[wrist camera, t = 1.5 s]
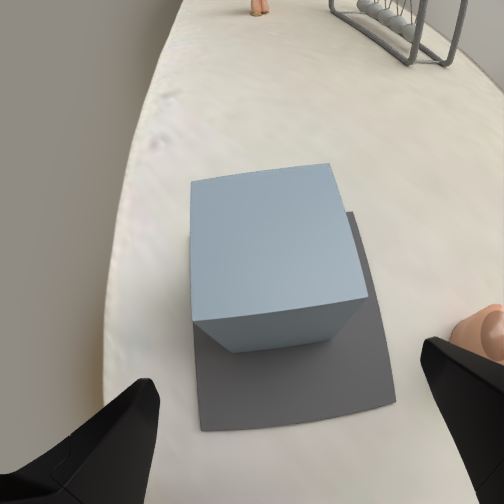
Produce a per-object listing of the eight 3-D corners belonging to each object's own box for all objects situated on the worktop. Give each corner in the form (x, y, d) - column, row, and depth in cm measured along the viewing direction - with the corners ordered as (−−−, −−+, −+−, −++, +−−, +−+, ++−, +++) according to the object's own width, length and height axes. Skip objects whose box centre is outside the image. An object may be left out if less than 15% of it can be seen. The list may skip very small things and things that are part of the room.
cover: (331, 339, 20) (368, 296, 12) (231, 353, 21) (191, 321, 12) (314, 250, 24) (329, 163, 15) (224, 262, 24) (190, 181, 15)
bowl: (489, 373, 18) (518, 366, 14) (447, 374, 18) (474, 368, 15) (490, 319, 20) (517, 305, 16) (449, 316, 20) (475, 301, 17)
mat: (394, 402, 18) (396, 402, 18) (202, 430, 19) (201, 430, 18) (351, 214, 25) (352, 211, 25) (192, 235, 26) (191, 233, 26)
